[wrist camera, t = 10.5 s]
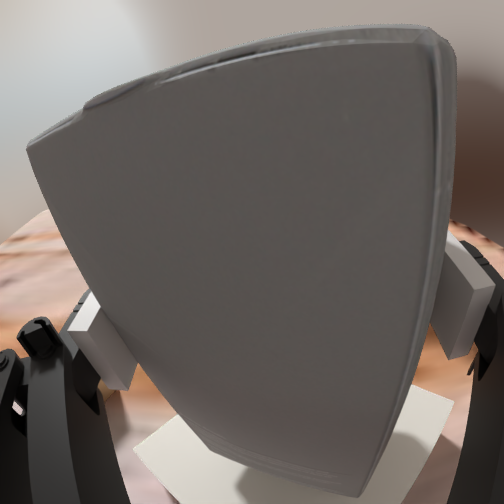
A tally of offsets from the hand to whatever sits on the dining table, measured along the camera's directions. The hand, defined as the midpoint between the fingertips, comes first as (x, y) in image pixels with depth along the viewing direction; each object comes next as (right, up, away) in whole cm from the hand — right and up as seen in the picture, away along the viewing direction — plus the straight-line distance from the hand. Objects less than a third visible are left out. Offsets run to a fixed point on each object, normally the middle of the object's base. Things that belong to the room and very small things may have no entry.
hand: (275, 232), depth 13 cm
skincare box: (+1, -10, +1) cm, 10 cm away
